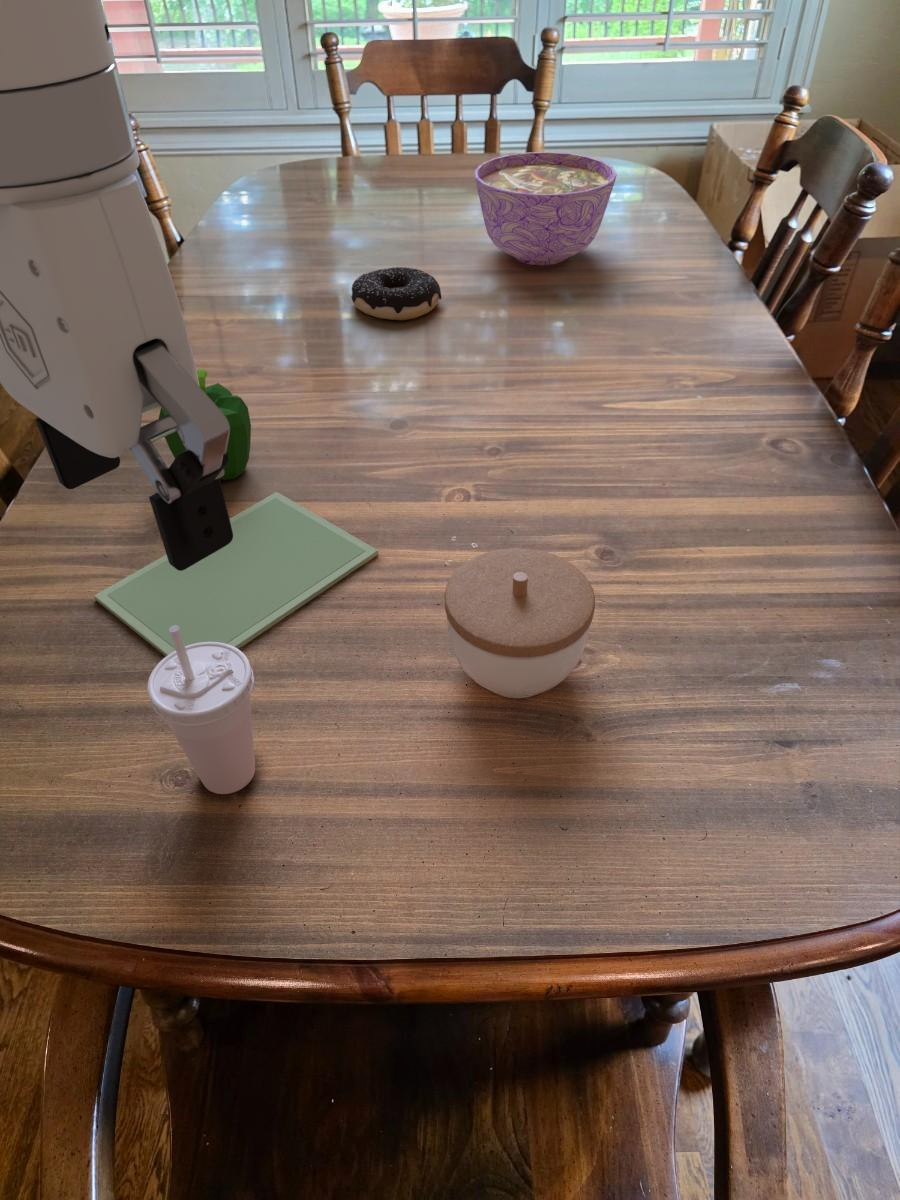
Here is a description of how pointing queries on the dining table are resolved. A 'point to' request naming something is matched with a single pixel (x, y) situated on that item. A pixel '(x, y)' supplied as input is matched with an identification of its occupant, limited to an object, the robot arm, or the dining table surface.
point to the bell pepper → (237, 420)
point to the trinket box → (518, 619)
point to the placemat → (239, 578)
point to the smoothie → (208, 709)
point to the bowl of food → (543, 203)
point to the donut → (396, 293)
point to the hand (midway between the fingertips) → (144, 513)
